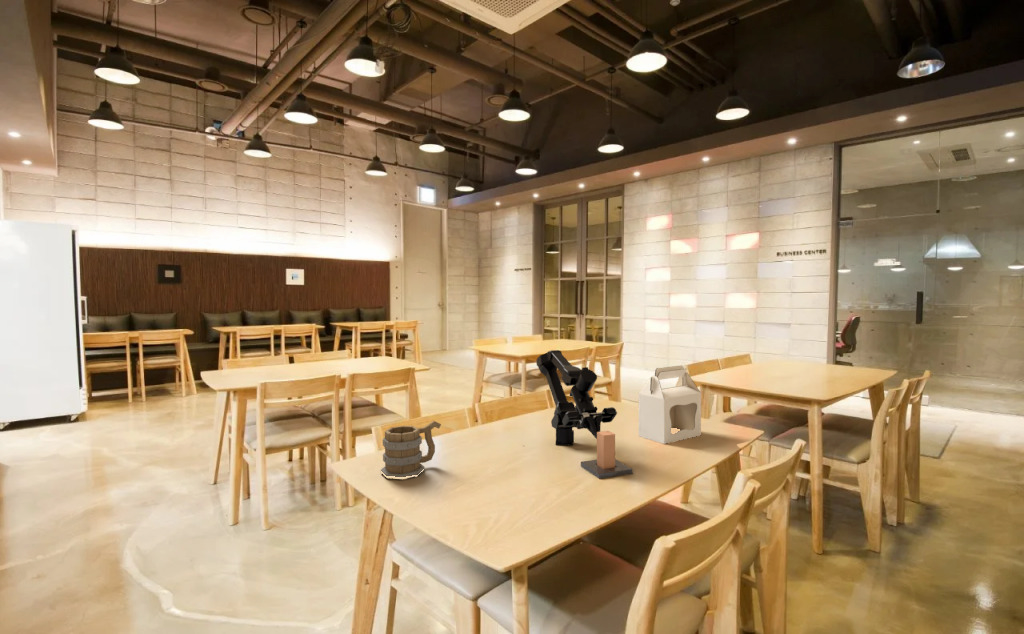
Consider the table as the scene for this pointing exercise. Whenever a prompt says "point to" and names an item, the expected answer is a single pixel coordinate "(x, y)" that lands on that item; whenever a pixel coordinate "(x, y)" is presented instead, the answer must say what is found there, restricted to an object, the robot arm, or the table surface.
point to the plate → (605, 473)
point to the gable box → (669, 407)
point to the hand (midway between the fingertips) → (598, 438)
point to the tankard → (407, 449)
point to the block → (606, 449)
